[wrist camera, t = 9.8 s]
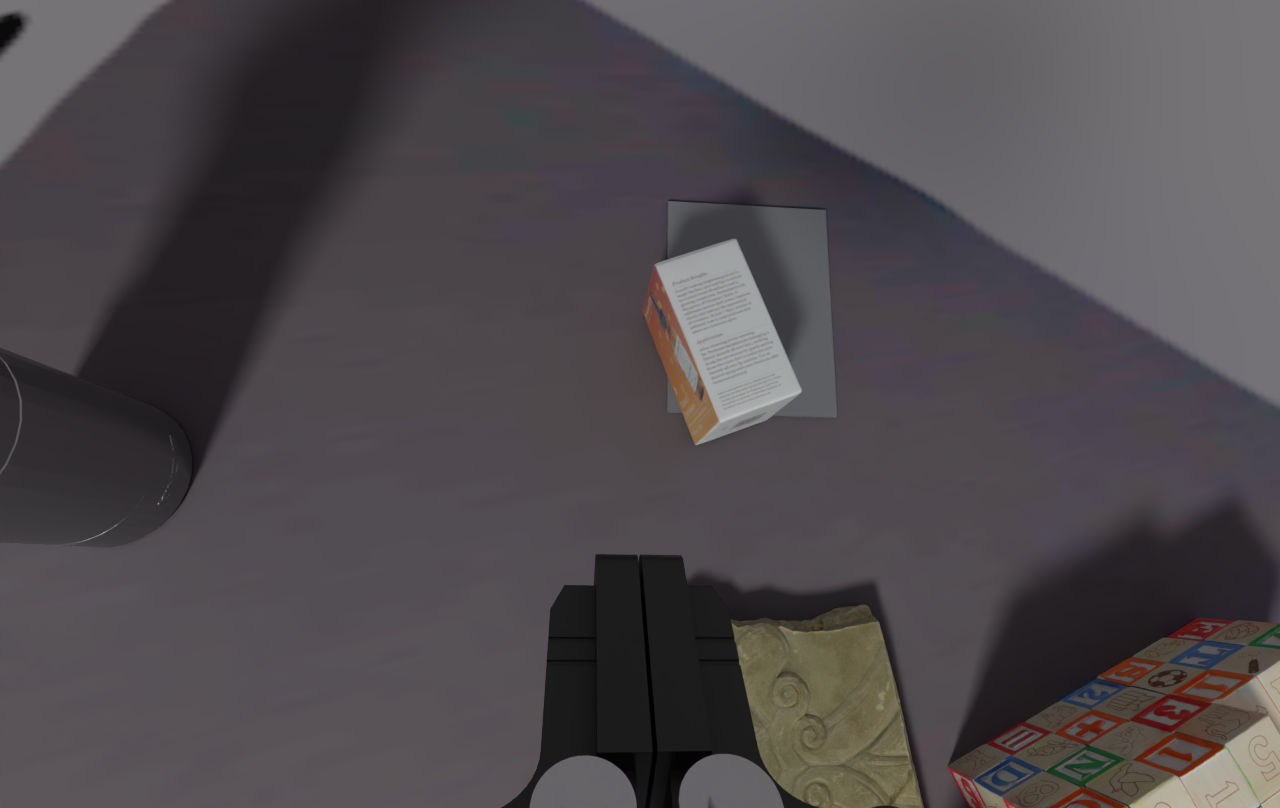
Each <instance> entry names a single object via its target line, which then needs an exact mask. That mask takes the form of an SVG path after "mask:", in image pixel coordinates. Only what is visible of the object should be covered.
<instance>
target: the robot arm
mask: <svg viewBox="0 0 1280 808" xmlns="http://www.w3.org/2000/svg"><path fill="white" fill-rule="evenodd" d="M191 474H192V455H191V449H190V444H189V442H188V440H187V438H186V436H185V433H184V431H183V430H182V429H181V428H180V426H179V425H178V424H177V422H176V421H175V420H174V419H172V418H171V417H170V416H169V415H167V414H166V413H165V412H163V411H161V410H159V409H157V408H155V407H153V406H150V405H148V404H145V403H143V402H140V401H137V400H135V399H132V398H130V397H127V396H124V395H122V394H120V393H117V392H115V391H112V390H110V389H107V388H104V387H102V386H99V385H97V384H94V383H91V382H89V381H86V380H83V379H81V378H78V377H76V376H73V375H70V374H68V373H65V372H63V371H60V370H57V369H55V368H52V367H49V366H47V365H44V364H42V363H39V362H36V361H34V360H31V359H29V358H26V357H23V356H21V355H18V354H15V353H13V352H10V351H8V350H5V349H2V348H0V543H22V544H44V545H61V546H88V547H111V546H117V545H123V544H127V543H129V542H132V541H135V540H137V539H140V538H142V537H144V536H145V535H147V534H149V533H150V532H152V531H154V530H155V529H157V528H158V527H159V526H160V525H161V524H163V523H164V522H165V521H166V520H167V519H168V518H169V517H170V516H171V515H172V514H173V512H174V511H175V510H176V508H177V507H178V506H179V505H180V503H181V501H182V499H183V497H184V495H185V493H186V491H187V489H188V485H189V482H190V478H191ZM734 638H735V637H734V632H733V627H732V623H731V618H730V613H729V610H728V608H727V607H726V605H725V604H724V603H723V601H722V600H721V598H720V597H719V596H718V594H717V593H716V591H715V590H714V589H713V587H712V586H687V582H686V575H685V569H684V562H683V558H682V556H681V555H640V556H639V562H638V557H637V555H605V554H596V556H595V573H594V586H587V585H564V587H563V589H562V590H561V592H560V594H559V595H558V597H557V599H556V601H555V602H554V604H553V606H552V607H551V609H550V622H549V638H548V652H547V667H546V682H545V696H544V711H543V726H542V741H541V753H540V760H539V763H538V766H537V769H536V771H535V773H534V775H533V778H532V779H531V781H530V782H529V784H528V785H527V787H526V788H525V789H524V790H523V791H522V792H521V793H520V794H519V795H518V796H517V797H516V798H515V799H513V800H512V801H511V802H510V803H508V804H506V805H505V806H503V807H502V808H819V807H816V806H813V805H810V804H808V803H805V802H803V801H801V800H799V799H797V798H796V797H794V796H792V795H791V794H790V793H788V792H787V791H786V790H784V789H783V788H782V787H781V786H780V785H779V784H778V783H777V782H776V781H775V780H774V778H773V777H772V776H771V775H770V773H769V772H768V770H767V768H766V767H765V765H764V763H763V761H762V758H761V756H760V752H759V749H758V745H757V740H756V735H755V731H754V726H753V721H752V717H751V712H750V707H749V702H748V698H747V693H746V688H745V684H744V679H743V674H742V670H741V665H739V655H738V651H737V646H736V643H735V641H734ZM872 808H898V807H895V806H886V805H885V806H875V807H872Z"/></svg>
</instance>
